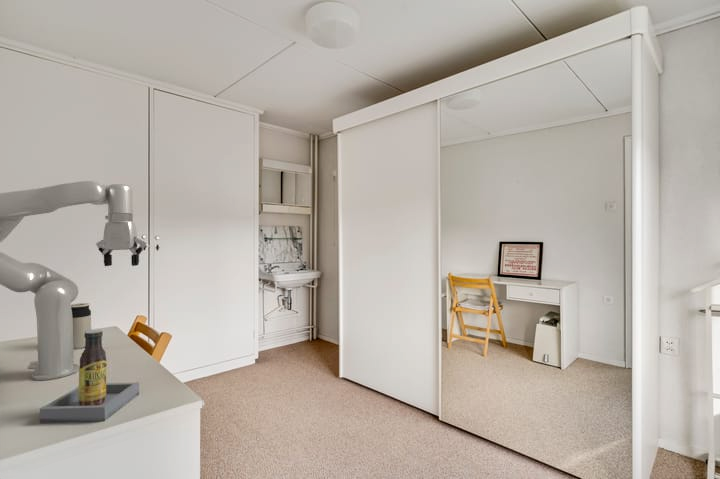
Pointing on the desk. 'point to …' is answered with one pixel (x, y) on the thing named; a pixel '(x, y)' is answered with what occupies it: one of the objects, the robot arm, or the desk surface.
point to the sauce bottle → (92, 370)
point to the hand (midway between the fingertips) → (121, 265)
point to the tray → (72, 412)
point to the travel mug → (80, 323)
